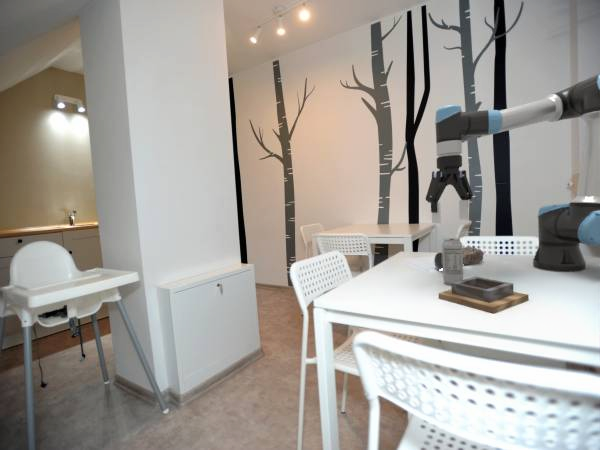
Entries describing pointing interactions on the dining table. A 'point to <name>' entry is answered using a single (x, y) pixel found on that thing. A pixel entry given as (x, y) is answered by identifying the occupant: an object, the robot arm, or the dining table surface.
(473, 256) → the seashell
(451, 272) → the energy drink can
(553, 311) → the dining table surface
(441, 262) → the ceramic mug
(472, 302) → the board
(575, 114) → the robot arm
